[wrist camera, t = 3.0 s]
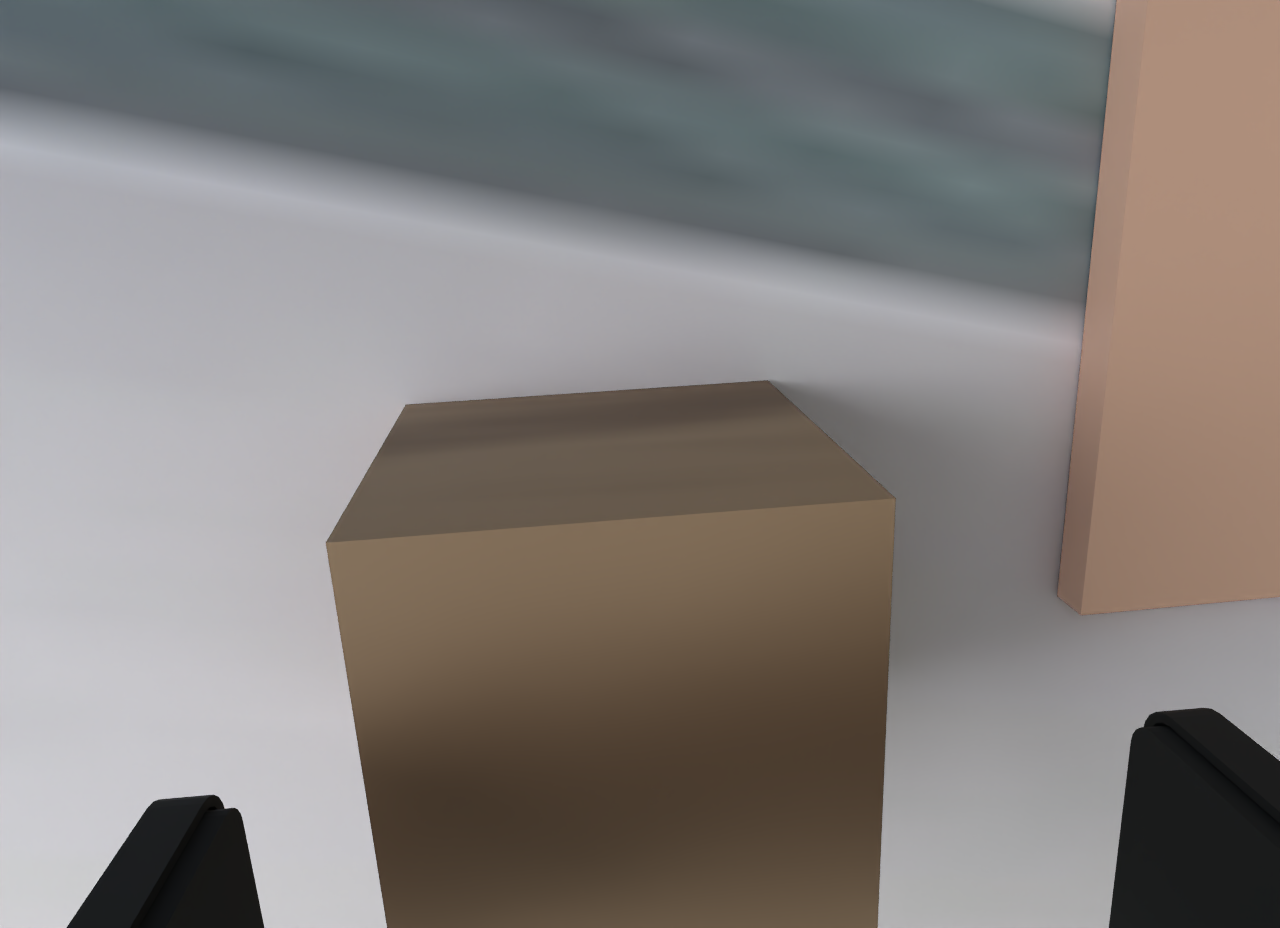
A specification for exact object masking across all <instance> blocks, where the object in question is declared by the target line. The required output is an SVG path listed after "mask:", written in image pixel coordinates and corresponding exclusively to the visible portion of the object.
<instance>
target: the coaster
mask: <svg viewBox="0 0 1280 928" xmlns="http://www.w3.org/2000/svg"><path fill="white" fill-rule="evenodd" d="M1057 596H1058V597H1059V598H1060V599H1061V600H1063V601H1064V602H1065V603H1066V604H1067V605H1069V606H1070V607H1071V608H1072V609H1074V610H1075V611H1076V612H1077V613H1078V614H1080V615H1090V614H1101V613H1112V612H1122V611H1133V610H1144V609H1155V608H1165V607H1176V606H1187V605H1198V604H1208V603H1219V602H1230V601H1241V600H1252V599H1262V598H1273V597H1280V0H1117V3H1116V13H1115V23H1114V33H1113V43H1112V53H1111V63H1110V73H1109V83H1108V93H1107V103H1106V113H1105V123H1104V133H1103V143H1102V153H1101V163H1100V173H1099V183H1098V193H1097V203H1096V213H1095V223H1094V233H1093V243H1092V253H1091V263H1090V273H1089V283H1088V293H1087V303H1086V313H1085V323H1084V333H1083V342H1082V352H1081V362H1080V372H1079V382H1078V392H1077V402H1076V412H1075V422H1074V432H1073V442H1072V452H1071V462H1070V472H1069V482H1068V492H1067V502H1066V512H1065V522H1064V532H1063V542H1062V552H1061V562H1060V572H1059V582H1058V592H1057Z"/></svg>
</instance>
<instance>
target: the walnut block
mask: <svg viewBox="0 0 1280 928" xmlns="http://www.w3.org/2000/svg"><path fill="white" fill-rule="evenodd" d="M895 501H896V498H895V497H894V496H893V495H891V494H890V493H889V492H888V491H887V490H886V489H885V488H884V487H883V486H882V485H881V484H880V483H878V482H877V481H876V480H875V479H874V478H873V477H872V476H871V475H870V474H869V473H868V472H867V471H865V470H864V469H863V468H862V467H861V466H860V465H859V464H858V463H857V462H856V461H855V460H853V459H852V458H851V457H850V456H849V455H848V454H847V453H846V452H845V451H844V450H843V449H842V448H840V447H839V446H838V445H837V444H836V443H835V442H834V441H833V440H832V439H831V438H830V437H829V436H827V435H826V434H825V433H824V432H823V431H822V430H821V429H820V428H819V427H818V426H817V425H816V424H814V423H813V422H812V421H811V420H810V419H809V418H808V417H807V416H806V415H805V414H804V413H802V412H801V411H800V410H799V409H798V408H797V407H796V406H795V405H794V404H793V403H792V402H791V401H789V400H788V399H787V398H786V397H785V396H784V395H783V394H782V393H781V392H780V391H779V390H778V389H776V388H775V387H774V386H773V385H772V384H771V383H770V382H769V381H768V380H767V381H752V382H737V383H722V384H708V385H693V386H678V387H663V388H648V389H633V390H618V391H603V392H588V393H573V394H558V395H543V396H529V397H514V398H499V399H484V400H469V401H454V402H439V403H424V404H409V405H405V407H404V409H403V410H402V412H401V414H400V416H399V417H398V419H397V421H396V423H395V424H394V426H393V428H392V430H391V431H390V433H389V435H388V436H387V438H386V440H385V442H384V443H383V445H382V447H381V449H380V450H379V452H378V454H377V455H376V457H375V459H374V461H373V462H372V464H371V466H370V468H369V469H368V471H367V473H366V474H365V476H364V478H363V480H362V481H361V483H360V485H359V487H358V488H357V490H356V492H355V493H354V495H353V497H352V499H351V500H350V502H349V504H348V506H347V507H346V509H345V511H344V512H343V514H342V516H341V518H340V519H339V521H338V523H337V525H336V526H335V528H334V530H333V532H332V533H331V535H330V537H329V538H328V540H327V542H326V547H327V553H328V559H329V566H330V572H331V578H332V584H333V591H334V597H335V603H336V610H337V616H338V622H339V628H340V635H341V641H342V647H343V653H344V660H345V666H346V672H347V679H348V685H349V691H350V697H351V704H352V710H353V716H354V722H355V729H356V735H357V741H358V747H359V754H360V760H361V766H362V773H363V779H364V785H365V791H366V798H367V804H368V810H369V816H370V823H371V829H372V835H373V842H374V848H375V854H376V860H377V867H378V873H379V879H380V885H381V892H382V898H383V904H384V910H385V917H386V923H387V928H877V927H878V904H879V880H880V856H881V833H882V809H883V785H884V762H885V738H886V714H887V690H888V667H889V643H890V619H891V596H892V572H893V548H894V525H895Z"/></svg>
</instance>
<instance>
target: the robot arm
mask: <svg viewBox="0 0 1280 928" xmlns="http://www.w3.org/2000/svg"><path fill="white" fill-rule="evenodd" d="M67 928H264V924H263V919H262V914H261V909H260V904H259V899H258V894H257V889H256V884H255V879H254V874H253V869H252V864H251V859H250V854H249V849H248V844H247V839H246V834H245V829H244V824H243V820H242V817H241V814H240V812H239V811H238V809H235V808H228V809H224V805H223V803H222V801H221V800H220V798H219V797H218V796H215V795H205V796H194V797H183V798H171V799H160V800H157V801H154V802H153V803H152V804H151V805H150V806H149V807H148V808H147V809H146V811H145V812H144V814H143V815H142V817H141V818H140V820H139V821H138V823H137V824H136V826H135V827H134V829H133V830H132V832H131V833H130V835H129V836H128V838H127V839H126V841H125V842H124V844H123V845H122V846H121V848H120V849H119V851H118V852H117V854H116V855H115V857H114V858H113V860H112V861H111V863H110V864H109V866H108V867H107V869H106V870H105V872H104V873H103V875H102V876H101V878H100V879H99V881H98V882H97V883H96V885H95V886H94V888H93V889H92V891H91V892H90V894H89V895H88V897H87V898H86V900H85V901H84V903H83V904H82V906H81V907H80V909H79V910H78V912H77V913H76V915H75V916H74V918H73V919H72V920H71V922H70V923H69V925H68V926H67ZM1109 928H1280V761H1279V760H1278V759H1276V758H1275V757H1274V756H1273V755H1271V754H1270V753H1269V752H1267V751H1266V750H1265V749H1264V748H1262V747H1261V746H1260V745H1259V744H1257V743H1256V742H1255V741H1254V740H1252V739H1251V738H1250V737H1249V736H1247V735H1246V734H1245V733H1244V732H1242V731H1241V730H1240V729H1239V728H1237V727H1236V726H1235V725H1234V724H1232V723H1231V722H1230V721H1229V720H1227V719H1226V718H1225V717H1224V716H1222V715H1221V714H1220V713H1218V712H1216V711H1214V710H1213V709H1209V708H1196V709H1185V710H1174V711H1162V712H1155V713H1153V714H1151V715H1149V717H1148V718H1147V720H1146V721H1145V724H1144V727H1141V728H1139V729H1136V730H1135V732H1134V733H1133V736H1132V740H1131V746H1130V754H1129V763H1128V771H1127V779H1126V788H1125V796H1124V805H1123V813H1122V822H1121V830H1120V839H1119V847H1118V856H1117V864H1116V872H1115V881H1114V889H1113V898H1112V906H1111V915H1110V923H1109Z"/></svg>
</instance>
